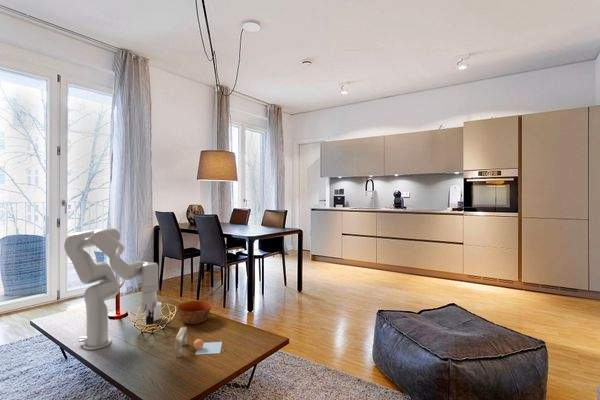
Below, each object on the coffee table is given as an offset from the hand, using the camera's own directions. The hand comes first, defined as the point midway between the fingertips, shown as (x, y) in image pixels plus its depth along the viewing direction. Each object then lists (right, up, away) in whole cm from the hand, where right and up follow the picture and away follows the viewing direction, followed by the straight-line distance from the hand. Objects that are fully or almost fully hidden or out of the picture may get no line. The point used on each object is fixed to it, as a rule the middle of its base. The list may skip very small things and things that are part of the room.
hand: (149, 323), depth 164 cm
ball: (+23, -12, +4) cm, 26 cm away
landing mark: (+28, -14, +5) cm, 32 cm away
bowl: (+10, -13, +38) cm, 42 cm away
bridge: (+15, -14, +3) cm, 21 cm away
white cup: (-15, -13, +40) cm, 44 cm away
